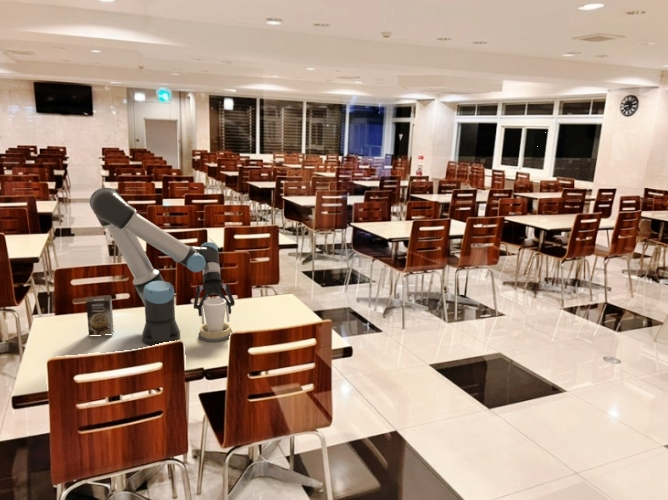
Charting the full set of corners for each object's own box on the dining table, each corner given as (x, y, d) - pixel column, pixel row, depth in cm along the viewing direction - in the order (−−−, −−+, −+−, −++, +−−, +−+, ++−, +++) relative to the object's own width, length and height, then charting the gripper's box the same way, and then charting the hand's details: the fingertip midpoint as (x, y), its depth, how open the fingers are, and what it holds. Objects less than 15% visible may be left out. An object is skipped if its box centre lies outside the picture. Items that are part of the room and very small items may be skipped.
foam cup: (229, 327, 224) (229, 298, 221) (222, 335, 215) (222, 305, 212) (208, 325, 225) (207, 297, 222) (200, 333, 216) (199, 304, 213)
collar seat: (199, 343, 212) (199, 335, 211) (197, 330, 225) (197, 322, 224) (234, 340, 216) (234, 331, 216) (230, 327, 229) (230, 320, 229)
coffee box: (88, 338, 214) (85, 301, 210) (91, 333, 220) (88, 296, 216) (112, 337, 216) (109, 300, 213) (114, 331, 222) (111, 295, 219)
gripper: (236, 277, 234) (241, 323, 223) (185, 280, 227) (188, 327, 216) (237, 269, 227) (243, 315, 217) (185, 272, 221) (188, 320, 210)
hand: (215, 321), depth 216 cm, fingers open, 10 cm apart
